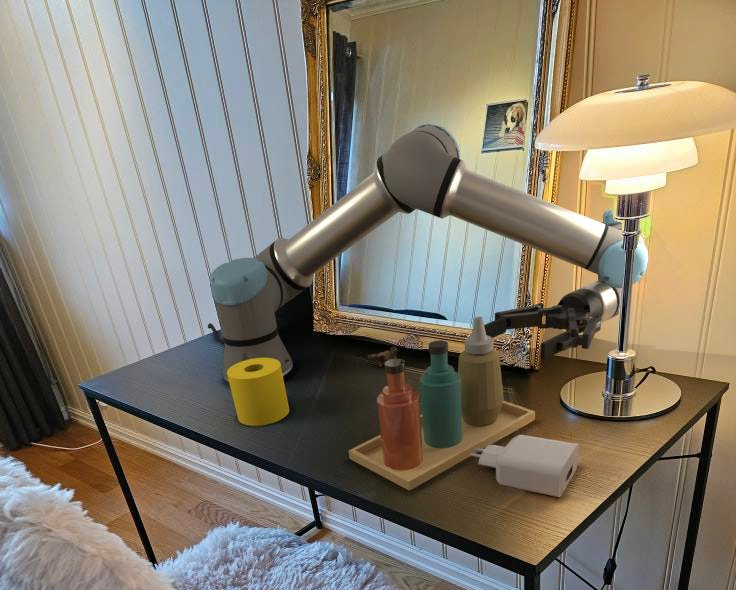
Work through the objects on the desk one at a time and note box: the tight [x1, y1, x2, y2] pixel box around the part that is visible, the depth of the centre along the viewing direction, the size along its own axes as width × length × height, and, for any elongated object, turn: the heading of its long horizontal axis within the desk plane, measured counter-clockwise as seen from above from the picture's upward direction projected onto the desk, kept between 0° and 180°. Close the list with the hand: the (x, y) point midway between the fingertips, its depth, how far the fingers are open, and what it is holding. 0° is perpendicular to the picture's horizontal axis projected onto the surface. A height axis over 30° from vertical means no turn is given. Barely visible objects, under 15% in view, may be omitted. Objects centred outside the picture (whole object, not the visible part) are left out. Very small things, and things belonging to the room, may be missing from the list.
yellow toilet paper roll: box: [227, 358, 290, 427], centre depth 124 cm, size 10×10×9 cm
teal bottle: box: [419, 339, 462, 448], centre depth 104 cm, size 6×6×17 cm
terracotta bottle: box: [376, 358, 423, 470], centre depth 100 cm, size 6×6×17 cm
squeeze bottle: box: [457, 316, 505, 426], centre depth 108 cm, size 8×8×18 cm
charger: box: [470, 434, 580, 498], centre depth 97 cm, size 5×9×15 cm
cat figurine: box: [366, 345, 399, 368], centre depth 139 cm, size 3×8×4 cm, turn 60°
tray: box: [348, 400, 536, 491], centre depth 109 cm, size 15×29×2 cm, turn 129°
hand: (509, 343), depth 111 cm, fingers open, 13 cm apart
